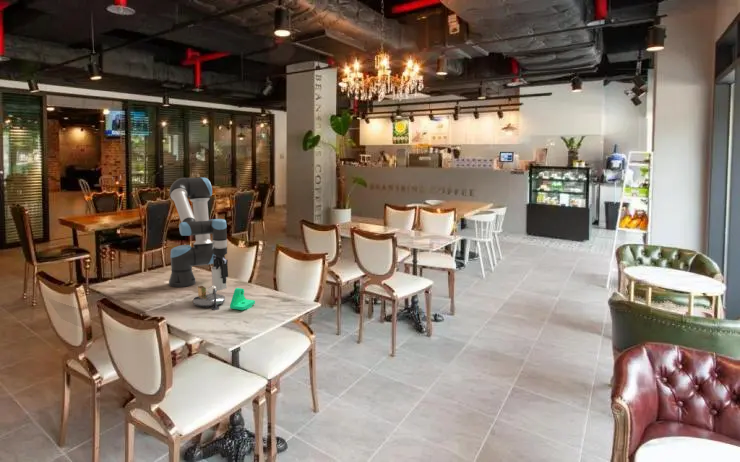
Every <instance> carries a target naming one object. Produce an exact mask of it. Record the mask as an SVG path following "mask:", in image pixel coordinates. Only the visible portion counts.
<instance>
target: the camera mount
mask: <svg viewBox="0 0 740 462" xmlns="http://www.w3.org/2000/svg"><path fill="white" fill-rule="evenodd" d="M255 304H256V300H254V299H247V298H246V297H245V289H244V288H240V287H236V288H235V289H234V291H233V295H232V297H231V301H230V305H229V308H230V309H232V310H239V311H244V310H247V311H248V310H249V309H250V308H252V307H253V305H255Z"/></svg>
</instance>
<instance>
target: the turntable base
mask: <svg viewBox="0 0 740 462" xmlns="http://www.w3.org/2000/svg"><path fill="white" fill-rule="evenodd" d="M220 305H221V304H219V305H217V307H219V306H220ZM198 307H200V308H211V307H214V306H198Z"/></svg>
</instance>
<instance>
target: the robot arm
mask: <svg viewBox="0 0 740 462" xmlns="http://www.w3.org/2000/svg"><path fill="white" fill-rule="evenodd" d="M212 195H213V187H212V184H211V181H210V180H209V179H208V178H207V177H202V176H200V177H179V178H178V179H176V180H175V181H173V183H172V184H171V185H170V187H169V196H170V199H171V200H172V201H173V202H174V205H175V209H176V211H177V214H178V216H179V220H180V223H179V225H178V227H179V229H178V230H179V234H180V236H182V237H183V236H185V237H186V236H189V237H191V236H194V237H195V242H193V246H191V244H181V245H178V246H175V247H172V248H171V249H170V257H169V258H170V269H171V273H170V277H169V281H168V286H170V287H172V288H184V287H191V286H194V285H196V282H197V280H196V277H195V274H194V272H193V267H196V266H208V265H212V266H213V267H216V270H217V269H218V268H219V266H220V269H221V276H222V277H220V278H221V289H222V290H225V289H227V280H226V277H227V278H228V277H229V269H228V263H229V262H228V259H226V257H225V256H226V255H227V254H228V238H227V236H228V235H227V233H228V232H227V229H228V228H227V220H226V219H224V218H212V219H209V218H210V217H209V216H210V215H209V208H208V207H209V206H208V202H209V200H210V199H211V198H210V197H212ZM188 198H189V199H188ZM189 200H190V202H192V206H191V205H190V202H189ZM211 234H212V235H211ZM211 236H212V239H211Z"/></svg>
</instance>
